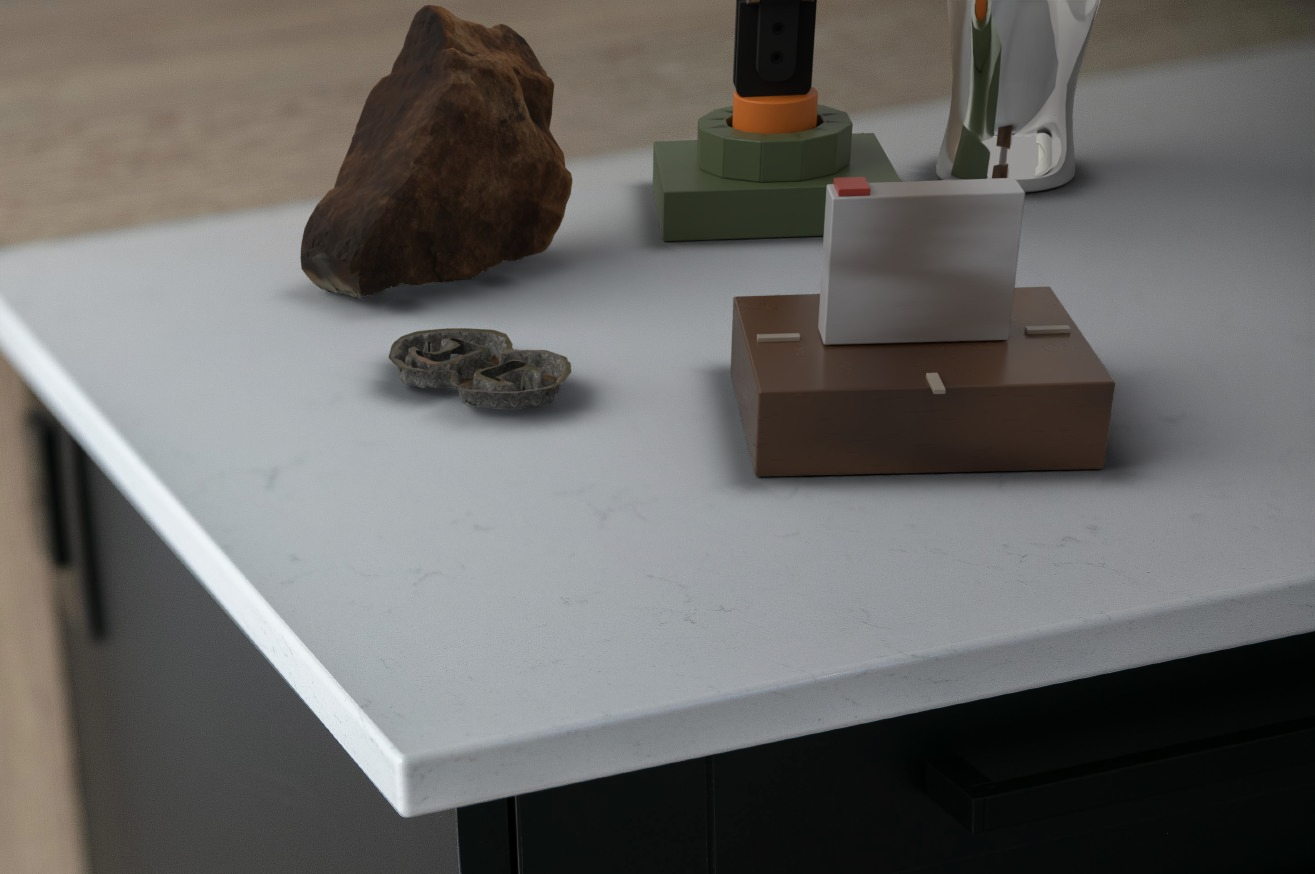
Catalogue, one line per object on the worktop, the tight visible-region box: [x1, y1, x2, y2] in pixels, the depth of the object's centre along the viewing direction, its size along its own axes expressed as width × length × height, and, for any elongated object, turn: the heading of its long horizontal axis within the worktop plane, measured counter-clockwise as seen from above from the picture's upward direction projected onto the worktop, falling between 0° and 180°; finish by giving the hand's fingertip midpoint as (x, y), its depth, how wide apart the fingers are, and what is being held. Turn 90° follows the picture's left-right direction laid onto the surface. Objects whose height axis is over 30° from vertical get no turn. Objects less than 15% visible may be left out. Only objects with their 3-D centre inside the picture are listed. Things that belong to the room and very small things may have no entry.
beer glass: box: [935, 0, 1101, 193], centre depth 87 cm, size 7×7×15 cm
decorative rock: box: [299, 4, 573, 299], centre depth 81 cm, size 12×6×11 cm, turn 120°
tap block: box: [730, 286, 1116, 478], centre depth 67 cm, size 11×10×3 cm
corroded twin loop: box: [388, 327, 572, 410], centre depth 73 cm, size 5×8×1 cm, turn 38°
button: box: [732, 86, 819, 134], centre depth 87 cm, size 4×4×2 cm
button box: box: [652, 104, 902, 242], centre depth 88 cm, size 10×8×4 cm
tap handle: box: [818, 177, 1026, 345], centre depth 65 cm, size 6×2×5 cm, turn 85°
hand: (771, 90), depth 86 cm, fingers closed
